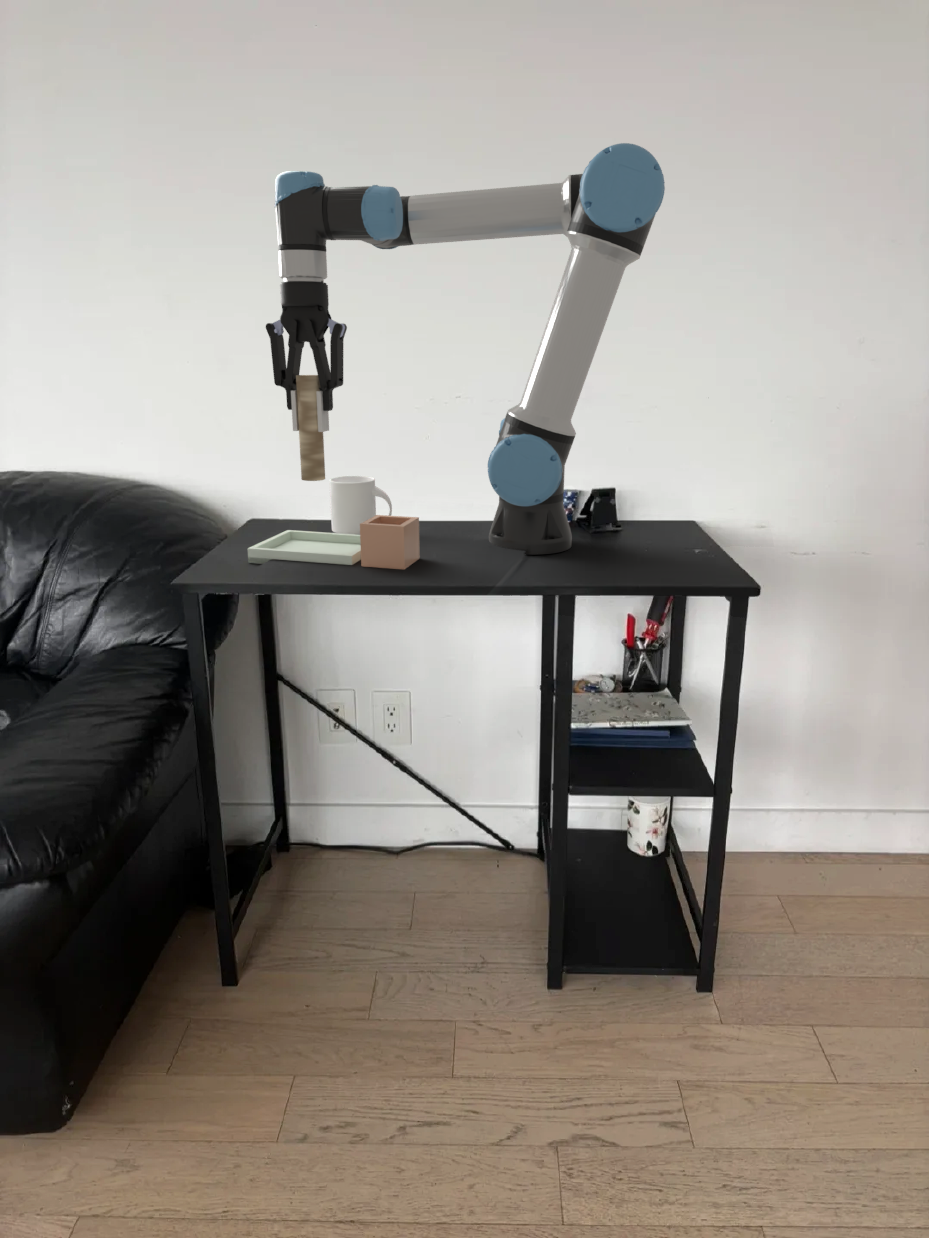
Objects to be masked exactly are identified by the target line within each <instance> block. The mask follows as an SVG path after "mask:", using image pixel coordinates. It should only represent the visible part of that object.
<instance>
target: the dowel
mask: <svg viewBox="0 0 929 1238" xmlns="http://www.w3.org/2000/svg"><path fill="white" fill-rule="evenodd" d="M296 387H297V405H298V423H299V431H298V440H299V458H300V477H301V481H306V482H317V481H318V482H320V481H324V480H326V468H325V467H326V464H325V445H324V444H325V440H324V432H318V415H317V394H316V391H320V390H319V388H321V387H320V383H319V378H318V374H299V375H296Z"/></svg>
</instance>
